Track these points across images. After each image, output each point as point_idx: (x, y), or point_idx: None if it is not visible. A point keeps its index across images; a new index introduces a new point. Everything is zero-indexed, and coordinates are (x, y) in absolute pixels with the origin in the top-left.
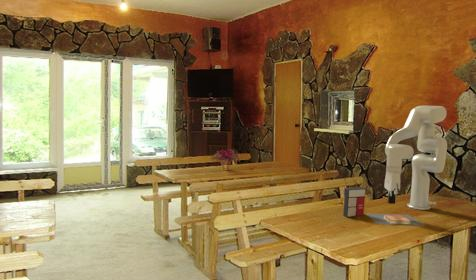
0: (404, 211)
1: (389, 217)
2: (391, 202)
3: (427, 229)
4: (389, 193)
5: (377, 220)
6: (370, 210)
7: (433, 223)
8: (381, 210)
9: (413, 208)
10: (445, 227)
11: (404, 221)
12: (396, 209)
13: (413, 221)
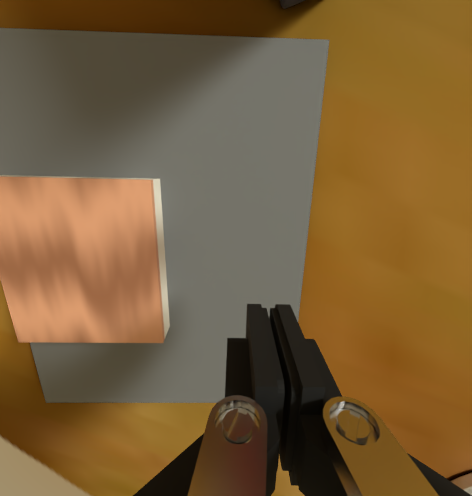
0: (404, 412)
1: (73, 202)
2: (246, 338)
3: (3, 386)
4: (335, 456)
5: (76, 81)
6: (467, 177)
7: (149, 459)
8: (451, 274)
9: (455, 479)
10: (82, 481)
11: (11, 294)
12: (458, 385)
13: (125, 371)
